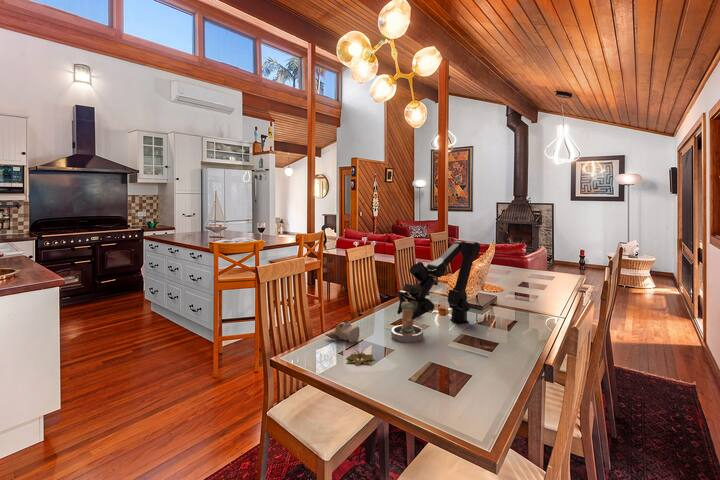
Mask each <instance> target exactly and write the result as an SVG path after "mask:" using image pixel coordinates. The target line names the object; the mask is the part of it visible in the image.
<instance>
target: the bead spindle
mask: <svg viewBox="0 0 720 480" xmlns="http://www.w3.org/2000/svg"><path fill="white" fill-rule="evenodd" d="M401 308H402V312H401V313H402V315H401V316H402V317H401V318H402V320H401V321H402V322H401V323H402V324H401V325H402V327H401V331H400V334H402V335H414V334H415V331H414V328H413V325H414V324H413V322H414V320H412V319H411V318H412V316H413V303H412V302H403V303H402V304H401Z"/></svg>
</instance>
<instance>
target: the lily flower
mask: <svg viewBox="0 0 720 480" xmlns="http://www.w3.org/2000/svg"><path fill="white" fill-rule="evenodd" d="M355 350H356V352H357V353H356V352H353V353H350V355H349V356H347V357H346V358H345V359H347V360H348V361H347V362H346V364H356V367H358V366H359V365H361V364H365V365H369V366H371V364H370V363H371V362H370V361H371V360H372V361H375V358H373V356H374V354H366V353H365V352H366V349H365V347H363V349H362V350H361V351H359V350H358V349H355ZM364 351H365V352H364Z"/></svg>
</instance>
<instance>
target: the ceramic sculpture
mask: <svg viewBox="0 0 720 480" xmlns="http://www.w3.org/2000/svg"><path fill="white" fill-rule="evenodd" d="M324 335H325V336H326V337H328V338H330V339H332V340H337V339H339V340H341V341H348V342H349V343H356V342H357V341H358V340H359V338H360V326H353V325H352V323H351V321H348V320H344V321H343V322H340V323H338V324H337V325H336V326H335V331H333V332H332V331H331V332H329V333H325V334H324Z"/></svg>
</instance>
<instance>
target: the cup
mask: <svg viewBox="0 0 720 480" xmlns="http://www.w3.org/2000/svg"><path fill="white" fill-rule="evenodd" d="M413 300H414V299H413ZM411 302H412V303H413V314H414V312H415V311H416V309H417V307H418V303H416V302H413V301H411Z"/></svg>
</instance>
